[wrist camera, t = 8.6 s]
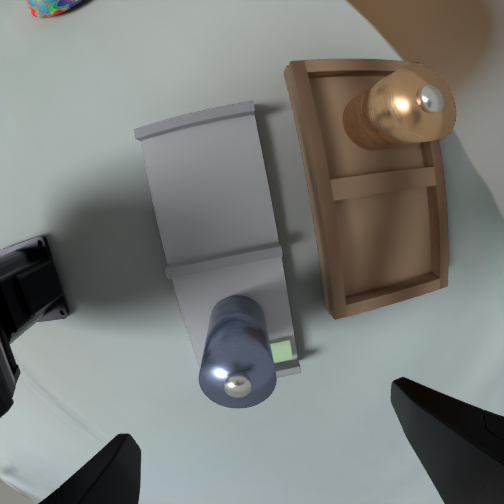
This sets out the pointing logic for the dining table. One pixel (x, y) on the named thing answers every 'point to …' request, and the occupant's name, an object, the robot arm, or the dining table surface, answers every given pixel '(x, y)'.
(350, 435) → the dining table surface
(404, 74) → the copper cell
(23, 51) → the dining table surface
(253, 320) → the cylinder
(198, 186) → the cradle
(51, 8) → the mug
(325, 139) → the tray
